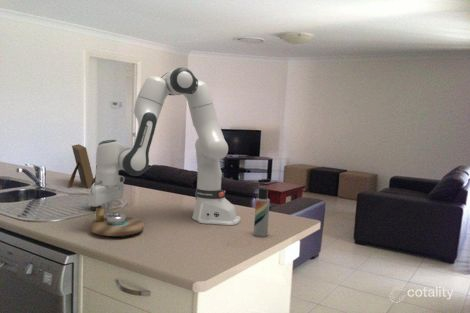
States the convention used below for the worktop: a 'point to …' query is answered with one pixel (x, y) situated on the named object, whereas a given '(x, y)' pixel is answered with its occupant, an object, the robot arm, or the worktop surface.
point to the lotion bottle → (261, 213)
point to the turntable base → (117, 236)
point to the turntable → (104, 229)
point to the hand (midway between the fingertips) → (106, 212)
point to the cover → (115, 219)
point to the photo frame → (81, 166)
